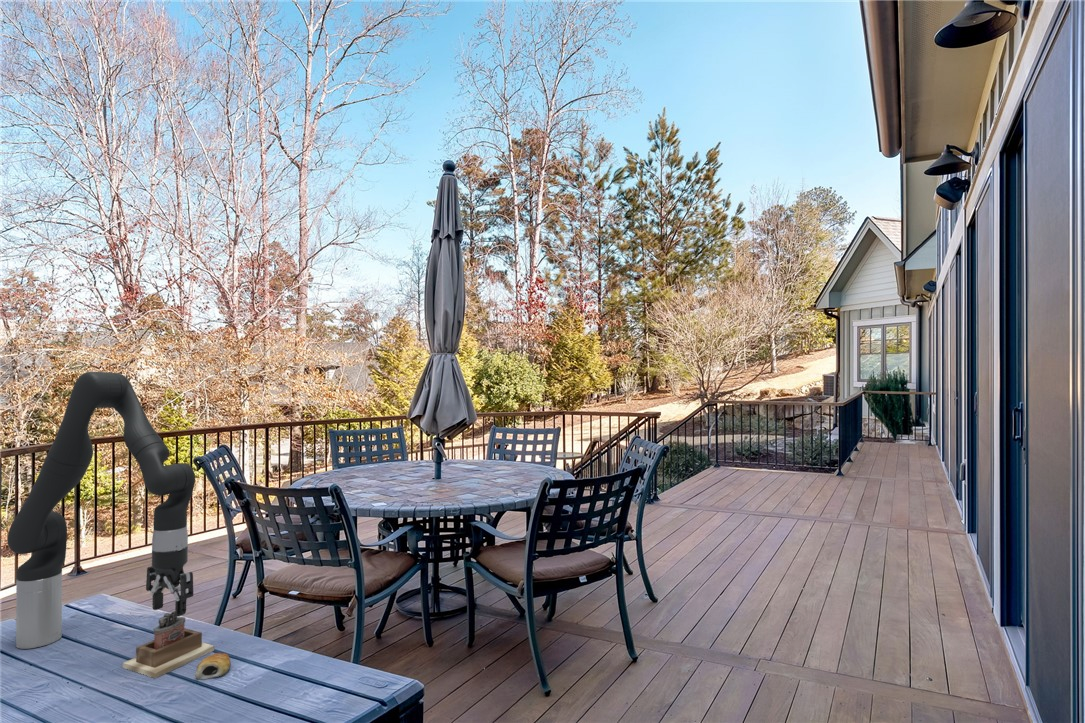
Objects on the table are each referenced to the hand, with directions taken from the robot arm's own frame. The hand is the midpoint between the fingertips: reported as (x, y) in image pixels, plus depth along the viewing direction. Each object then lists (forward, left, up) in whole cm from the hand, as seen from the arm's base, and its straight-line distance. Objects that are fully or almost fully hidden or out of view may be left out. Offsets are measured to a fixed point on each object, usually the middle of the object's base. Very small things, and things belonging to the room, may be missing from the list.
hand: (169, 611), depth 148 cm
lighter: (0, 0, -11) cm, 11 cm away
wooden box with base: (0, 0, -12) cm, 12 cm away
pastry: (+15, +1, -12) cm, 19 cm away
